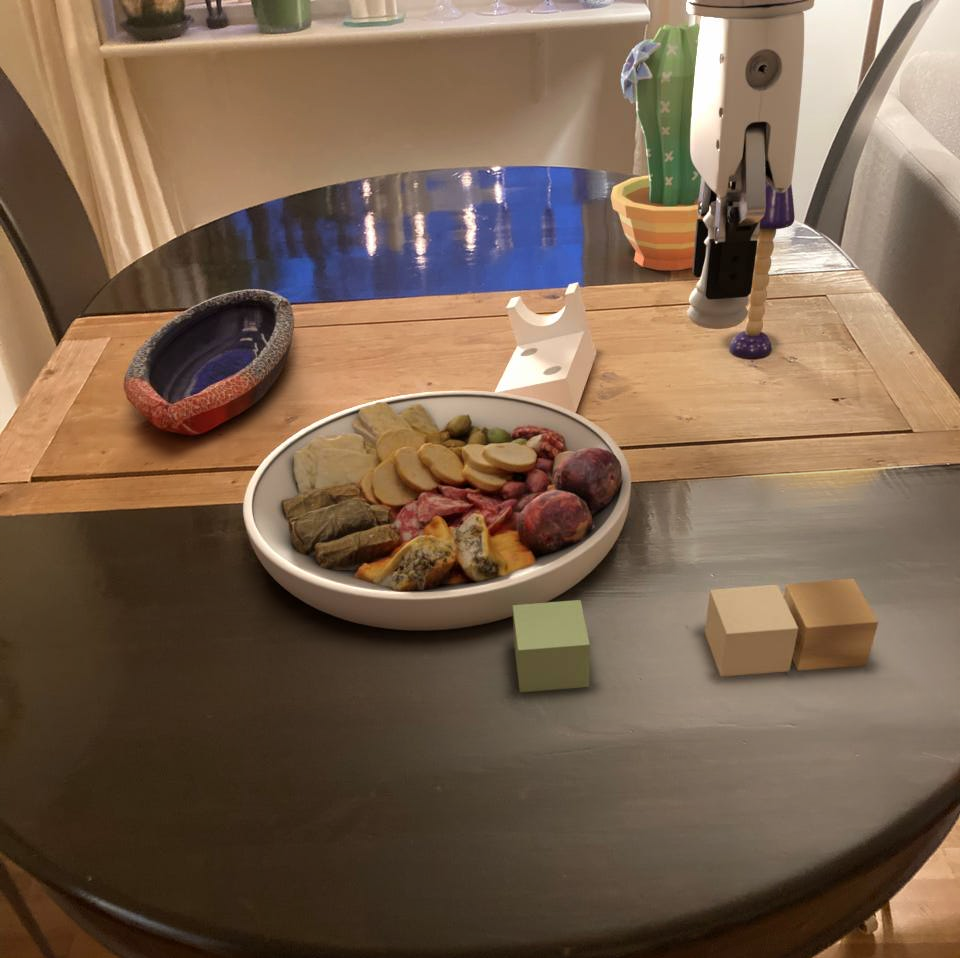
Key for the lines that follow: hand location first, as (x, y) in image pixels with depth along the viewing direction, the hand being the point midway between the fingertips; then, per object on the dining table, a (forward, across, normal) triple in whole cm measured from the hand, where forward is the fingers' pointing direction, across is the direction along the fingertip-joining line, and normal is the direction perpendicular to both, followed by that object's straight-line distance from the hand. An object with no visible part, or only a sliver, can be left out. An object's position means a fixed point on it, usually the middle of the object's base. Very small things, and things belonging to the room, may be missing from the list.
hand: (720, 283), depth 69 cm
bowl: (+17, -4, +22) cm, 28 cm away
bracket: (+17, +20, +12) cm, 29 cm away
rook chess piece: (+3, 0, 0) cm, 3 cm away
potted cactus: (+17, +54, -7) cm, 57 cm away
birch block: (+17, -22, -4) cm, 28 cm away
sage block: (+17, -22, +14) cm, 31 cm away
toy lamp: (+17, +26, -11) cm, 33 cm away
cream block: (+17, -22, +1) cm, 28 cm away
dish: (+17, +26, +45) cm, 55 cm away
